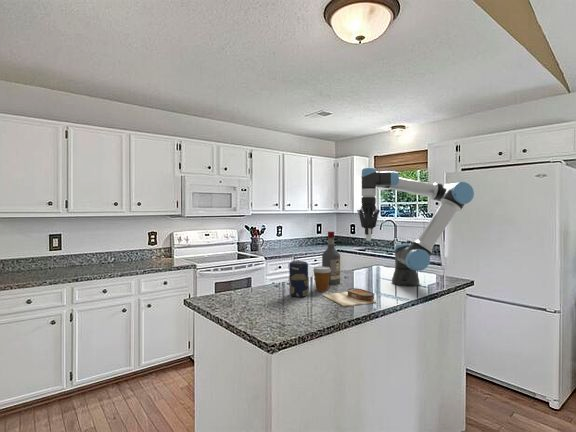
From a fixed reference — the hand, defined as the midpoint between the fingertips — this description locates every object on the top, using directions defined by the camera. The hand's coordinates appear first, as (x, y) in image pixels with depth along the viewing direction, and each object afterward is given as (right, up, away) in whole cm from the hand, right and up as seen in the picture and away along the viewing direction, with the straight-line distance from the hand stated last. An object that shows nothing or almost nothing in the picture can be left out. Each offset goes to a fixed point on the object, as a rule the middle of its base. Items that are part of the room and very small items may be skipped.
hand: (368, 240), depth 188 cm
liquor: (-18, -26, +17) cm, 36 cm away
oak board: (-14, -27, -19) cm, 36 cm away
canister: (-38, -27, -12) cm, 48 cm away
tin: (-4, -25, -15) cm, 30 cm away
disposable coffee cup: (-25, -27, 0) cm, 37 cm away
